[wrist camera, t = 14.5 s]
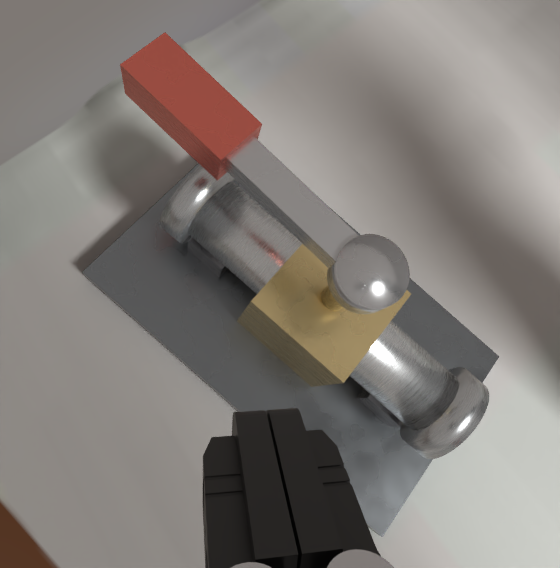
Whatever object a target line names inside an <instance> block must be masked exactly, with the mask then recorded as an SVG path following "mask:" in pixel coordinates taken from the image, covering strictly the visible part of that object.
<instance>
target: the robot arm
mask: <svg viewBox="0 0 560 568" xmlns="http://www.w3.org/2000/svg"><path fill="white" fill-rule="evenodd" d="M203 522H204V544H205V568H394V567H393V566H392V565H391V564H390V563H389V562H388V561H386V560H385V559H384V558H382V557H381V555H380V554H379V552H378V551H377V549H376V546H375V544H374V542H373V539H372V536H371V534H370V531H369V528H368V526H367V523H366V521H365V518H364V515H363V513H362V510H361V507H360V505H359V502H358V500H357V497H356V494H355V492H354V489H353V486H352V484H350V479H349V476H348V473H347V471H346V468H344V463H343V460H342V458H341V455H340V452H339V450H338V447H337V445H336V444H335V443H334V442H333V441H332V440H331V439H330V438H329V437H328V435H327V434H326V433H325V432H324V431H323V430H322V429H321V430H307V431H306V429H305V426H304V423H303V419H302V416H301V413H300V411H299V409H298V408H291V409H275V410H267V411H265V410H261V411H244V412H234V413H233V423H232V436H224V437H212V438H211V440H210V442H209V444H208V447H207V449H206V451H205V453H204V455H203Z"/></svg>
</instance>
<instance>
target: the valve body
mask: <svg viewBox="0 0 560 568" xmlns="http://www.w3.org/2000/svg"><path fill="white" fill-rule="evenodd" d="M330 209H331V208H330ZM331 210H332V209H331ZM332 211H333V210H332ZM333 212H334V211H333ZM334 213H335V212H334ZM339 217H340V216H339ZM340 218H341V217H340ZM341 219H342V218H341ZM342 220H343V219H342ZM343 221H344V220H343ZM344 222H345V221H344ZM345 223H346V222H345ZM346 224H347V225H348V226H349V227H350V228H351V229H352V230H353V231H355V232H356V233H357V234H358V235H359V236H360V234H359V233H358V232H357V231H356V230H354V229H353V228H352V227H351V226H350V225H349V224H348V223H346ZM327 270H328V267H327V266H326V265H325V264H323V263H322V262H321V261H320V260H319V259H318V258H317V257H316V256H315V255H314V254H313V253H312V252H311V251H310V250H309V249H308V248H307V247H306V246H305V245H303V244H302V243H301V242H300V241H299V240H298V239H297V238H296V237H295V236H294V235H293V234H292V233H291V232H290V231H289V230H288V229H287V228H286V227H284V226H283V225H282V224H281V223H280V222H279V221H278V220H277V219H276V218H275V217H274V216H273V215H272V214H271V213H270V212H269V211H268V210H267V209H265V208H264V207H263V206H262V205H261V204H260V203H259V202H258V201H257V200H256V199H255V198H254V197H253V196H252V195H251V194H250V193H249V192H248V191H247V190H245V189H244V188H243V187H242V186H241V185H240V184H239V183H238V182H237V181H236V180H235V179H234V178H233V177H232V176H231V175H230V174H229V173H228V172H227V173H226V174H225V175H223V176H222V177H221V178H220V179H219V180H218V181H217V180H216V179H215V178H214V177H213V176H212V175H211V174H209V173H208V172H207V171H206V170H205V169H204V168H203V167H202V166H201V165H200V164H199V163H198V164H197V165H196V166H195V167H194V168H193V169H192V170H191V171H190V172H189V173H188V174H186V175H185V176H184V177H183V178H182V179H181V180H180V181H179V182H178V183H177V184H176V185H175V186H174V187H173V188H172V189H170V190H169V191H168V192H167V193H166V194H165V195H164V196H163V197H162V198H161V199H160V200H159V201H158V202H157V203H156V204H154V205H153V206H152V207H151V208H150V209H149V210H148V211H147V212H146V213H145V214H144V215H143V216H142V217H141V218H139V219H138V220H137V221H136V222H135V223H134V224H133V225H132V226H131V227H130V228H129V229H128V230H127V231H126V232H125V233H123V234H122V235H121V236H120V237H119V238H118V239H117V240H116V241H115V242H114V243H113V244H112V245H111V246H110V247H109V248H107V249H106V250H105V251H104V252H103V253H102V254H101V255H100V256H99V257H98V258H97V259H96V260H95V261H94V262H92V263H91V264H90V265H89V266H88V267H87V268H86V269H85V270H84V271H83V272H82V273H83V274H84V276H85V277H86V278H87V279H89V280H90V281H91V282H92V283H93V284H94V285H95V286H96V287H98V288H99V289H100V290H101V291H102V292H103V293H104V294H106V295H107V296H108V297H109V298H110V299H111V300H112V301H113V302H115V303H116V304H117V305H118V306H119V307H120V308H121V309H123V310H124V311H125V312H126V313H127V314H128V315H129V316H130V317H132V318H133V319H134V320H135V321H136V322H137V323H138V324H140V325H141V326H142V327H143V328H144V329H145V330H146V331H147V332H149V333H150V334H151V335H152V336H153V337H154V338H155V339H157V340H158V341H159V342H160V343H161V344H162V345H163V346H164V347H166V348H167V349H168V350H169V351H170V352H171V353H172V354H174V355H175V356H176V357H177V358H178V359H179V360H180V361H181V362H183V363H184V364H185V365H186V366H187V367H188V368H189V369H191V370H192V371H193V372H194V373H195V374H196V375H197V376H198V377H200V378H201V379H202V380H203V381H204V382H205V383H206V384H208V385H209V386H210V387H211V388H212V389H213V390H214V391H215V392H217V393H218V394H219V395H220V396H221V397H222V398H223V399H225V400H226V401H227V402H228V403H229V404H230V405H231V406H232V407H234V408H235V409H236V410H237V411H238V412H244V411H261V410H265V411H267V410H275V409H291V408H298V409H299V411H300V413H301V416H302V419H303V423H304V426H305V429H306V431H307V430H321V429H322V430H323V431H324V432H325V433H326V434H327V435H328V437H329V438H330V439H331V440H332V441H333V442H334V443H335V444H336V445H337V447H338V450H339V452H340V455H341V458H342V460H343V463H344V468H346V471H347V473H348V476H349V479H350V484H352V486H353V489H354V492H355V494H356V497H357V500H358V502H359V505H360V507H361V510H362V513H363V515H364V518H365V521H366V523H367V526H368V527H370V528H371V529H372V530H373V531H374V532H375V533H377V534H378V535H380V536H381V537H383V535H384V534H385V532H386V530H387V529H388V527H389V526H390V524H391V523H392V521H393V520H394V518H395V517H396V515H397V514H398V512H399V510H400V509H401V507H402V506H403V504H404V503H405V501H406V500H407V498H408V497H409V495H410V493H411V492H412V490H413V489H414V487H415V486H416V484H417V483H418V481H419V480H420V478H421V476H422V475H423V473H424V472H425V470H426V469H427V467H428V466H429V464H430V463H431V461H432V459H435V458H439V457H441V456H443V455H445V454H447V453H449V452H451V451H452V450H454V449H455V448H456V447H458V446H459V445H460V444H461V443H462V442H463V441H464V440H465V439H466V438H467V437H468V436H469V435H470V434H471V433H472V432H473V431H474V429H475V428H476V427H477V425H478V424H479V422H480V421H481V419H482V417H483V415H484V413H485V411H486V409H487V406H488V402H489V391H488V389H487V387H486V386H485V385H484V384H483V383H482V382H483V381H484V379H485V378H486V376H487V375H488V373H489V372H490V370H491V368H492V367H493V365H494V364H495V362H496V361H497V359H498V358H499V356H498V355H497V354H496V353H494V352H493V351H492V350H491V349H490V348H489V347H488V346H486V345H485V344H484V343H483V342H482V341H481V340H480V339H478V338H477V337H476V336H475V335H474V334H473V333H472V332H470V331H469V330H468V329H467V328H466V327H465V326H464V325H463V324H461V323H460V322H459V321H458V320H457V319H456V318H455V317H453V316H452V315H451V314H450V313H449V312H448V311H447V310H445V309H444V308H443V307H442V306H441V305H440V304H439V303H437V302H436V301H435V300H434V299H433V298H432V297H431V296H430V295H428V294H427V293H426V292H425V291H424V290H423V289H422V288H420V287H419V286H418V285H417V284H416V283H415V282H414V281H412V280H411V279H410V278H409V284H408V287H407V290H406V292H405V293H404V295H403V296H402V297H401V299H400V300H399V301H397V302H396V303H394V304H393V305H391V306H389V307H386V308H384V309H382V310H380V311H378V312H375V313H372V314H357V313H353V312H350V311H348V310H346V309H345V308H343V307H342V306H341V305H340V304H339V303H338V302H337V301H336V300H335V299H334V297H333V296H332V294H331V292H330V289H329V286H328V282H327Z"/></svg>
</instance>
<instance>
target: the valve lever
mask: <svg viewBox="0 0 560 568" xmlns="http://www.w3.org/2000/svg"><path fill="white" fill-rule="evenodd" d="M120 66H121V72H122V78H123V83H124V89H125V94H126V95H127V96H128V97H129V98H130V99H132V100H133V101H134V102H135V103H136V104H137V105H138V106H139V107H140V108H141V109H142V110H143V111H144V112H145V113H146V114H147V115H148V116H149V117H150V118H152V119H153V120H154V121H155V122H156V123H157V124H158V125H159V126H160V127H161V128H162V129H163V130H164V131H165V132H166V133H167V134H168V135H169V136H170V137H172V138H173V139H174V140H175V141H176V142H177V143H178V144H179V145H180V146H181V147H182V148H183V149H184V150H185V151H186V152H187V153H188V154H189V155H191V156H192V157H193V158H194V159H195V160H196V161H197V162H198V163H199V164H200V165H201V166H202V167H203V168H204V169H205V170H206V171H207V172H208V173H209V174H211V175H212V176H213V177H214V178H215V179H216V180H217V181H218V180H219V179H220V178H221V177H222V176H223V175H225V174H226V173H227V172H228V173H229V174H230V175H231V176H232V177H233V178H234V179H235V180H236V181H237V182H238V183H239V184H240V185H241V186H242V187H243V188H244V189H245V190H247V191H248V192H249V193H250V194H251V195H252V196H253V197H254V198H255V199H256V200H257V201H258V202H259V203H260V204H261V205H262V206H263V207H264V208H265V209H267V210H268V211H269V212H270V213H271V214H272V215H273V216H274V217H275V218H276V219H277V220H278V221H279V222H280V223H281V224H282V225H283V226H284V227H286V228H287V229H288V230H289V231H290V232H291V233H292V234H293V235H294V236H295V237H296V238H297V239H298V240H299V241H300V242H301V243H302V244H303V245H305V246H306V247H307V248H308V249H309V250H310V251H311V252H312V253H313V254H314V255H315V256H316V257H317V258H318V259H319V260H320V261H321V262H322V263H323V264H325V265H326V266H327V267H328V270H327V282H328V286H329V289H330V292H331V294H332V296H333V297H334V299H335V300H336V301H337V302H338V303H339V304H340V305H341V306H342V307H343V308H345V309H346V310H348V311H350V312H353V313H357V314H372V313H375V312H378V311H380V310H382V309H384V308H386V307H389V306H391V305H393V304H394V303H396V302H397V301H399V300H400V299H401V297H402V296H403V295H404V293H405V292H406V290H407V287H408V284H409V277H410V273H409V266H408V263H407V260H406V258H405V256H404V254H403V252H402V251H401V250H400V248H399V247H398V246H397V245H396V244H394V243H393V242H392V241H390V240H389V239H387V238H385V237H382V236H379V235H374V234H365V235H360V236H359V235H358V234H357V233H356V232H355V231H353V230H352V229H351V228H350V227H349V226H348V225H347V224H346V223H345V222H344V221H343V220H342V219H341V218H340V217H339V216H338V215H337V214H336V213H334V212H333V211H332V210H331V209H330V208H329V207H328V206H327V205H326V204H325V203H324V202H323V201H322V200H321V199H320V198H319V197H318V196H316V195H315V194H314V193H313V192H312V191H311V190H310V189H309V188H308V187H307V186H306V185H305V184H304V183H303V182H302V181H301V180H300V179H299V178H297V177H296V176H295V175H294V174H293V173H292V172H291V171H290V170H289V169H288V168H287V167H286V166H285V165H284V164H283V163H282V162H281V161H279V160H278V159H277V158H276V157H275V156H274V155H273V154H272V153H271V152H270V151H269V150H268V149H267V148H266V147H265V146H264V145H263V144H261V143H260V142H259V141H258V140H257V139H258V136H259V133H260V129H261V126H262V124H261V123H260V122H259V121H258V120H257V119H256V118H255V117H254V116H253V115H252V114H251V113H250V112H249V111H248V110H247V109H246V108H245V107H243V106H242V105H241V104H240V103H239V102H238V101H237V100H236V99H235V98H234V97H233V96H232V95H231V94H230V93H229V92H228V91H227V90H225V89H224V88H223V87H222V86H221V85H220V84H219V83H218V82H217V81H216V80H215V79H214V78H213V77H212V76H211V75H210V74H209V73H207V72H206V71H205V70H204V69H203V68H202V67H201V66H200V65H199V64H198V63H197V62H196V61H195V60H194V59H193V58H192V57H191V56H189V55H188V54H187V53H186V52H185V51H184V50H183V49H182V48H181V47H180V46H179V45H178V44H177V43H176V42H175V41H173V39H171V38H170V37H169V36H168V35H167V34H166V33H163V34H162V35H161V36H159V37H158V38H156V39H155V40H154V41H152V42H151V43H149V44H148V45H147V46H145V47H144V48H142V49H141V50H140V51H138V52H137V53H136V54H134V55H133V56H131V57H130V58H129V59H128V60H126V61H124V62H123V63H122V64H120Z"/></svg>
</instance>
